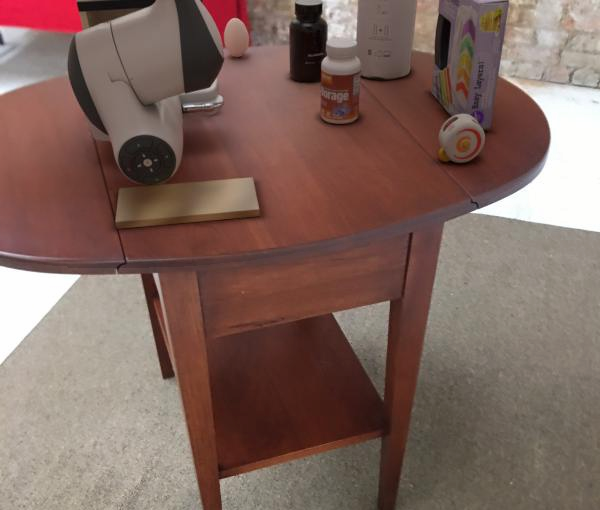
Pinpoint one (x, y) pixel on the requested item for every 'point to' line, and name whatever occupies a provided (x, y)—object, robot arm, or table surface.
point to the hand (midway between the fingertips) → (152, 79)
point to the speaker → (385, 37)
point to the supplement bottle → (307, 40)
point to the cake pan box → (469, 56)
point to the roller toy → (460, 139)
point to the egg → (236, 37)
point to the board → (186, 202)
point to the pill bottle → (340, 81)
